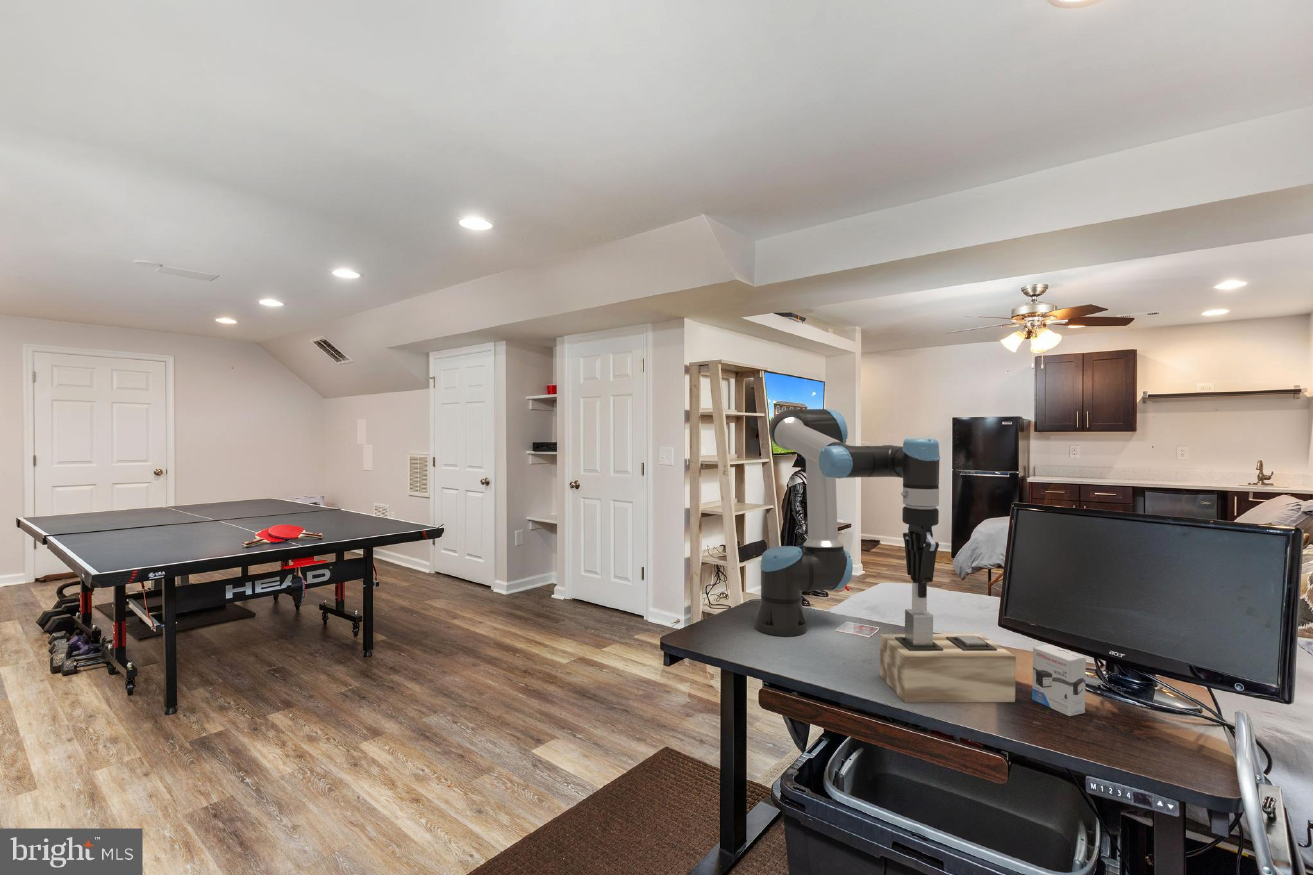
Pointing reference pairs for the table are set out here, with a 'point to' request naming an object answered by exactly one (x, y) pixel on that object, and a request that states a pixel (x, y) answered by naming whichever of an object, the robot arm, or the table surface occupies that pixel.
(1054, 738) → the table surface
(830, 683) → the table surface
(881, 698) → the table surface
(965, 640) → the peg
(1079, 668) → the ink box
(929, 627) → the peg
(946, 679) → the socket block
